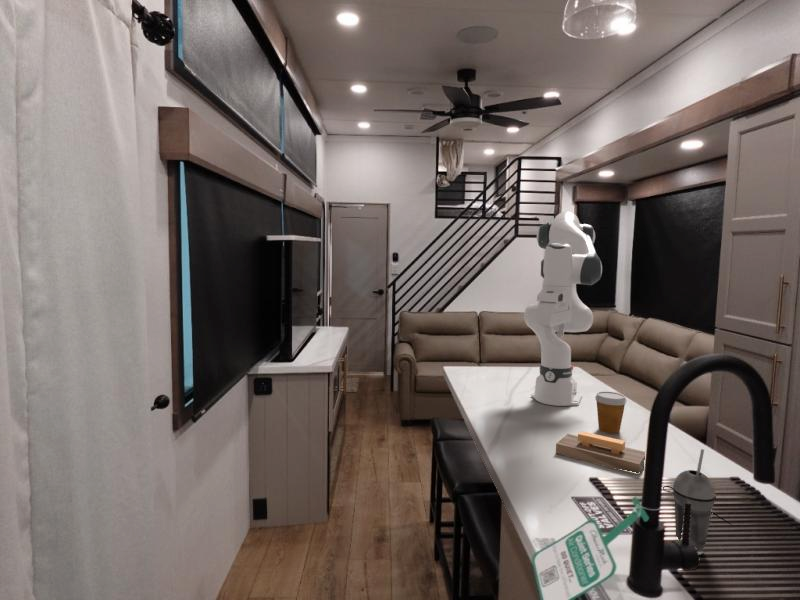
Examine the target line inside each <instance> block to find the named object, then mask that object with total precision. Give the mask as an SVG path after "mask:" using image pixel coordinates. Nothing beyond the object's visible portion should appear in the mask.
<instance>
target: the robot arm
mask: <svg viewBox="0 0 800 600" xmlns="http://www.w3.org/2000/svg"><path fill="white" fill-rule="evenodd" d="M595 240H596V232H595V230H594V226H592V225H591V224H587V223H583V224H582V223H581V222H580V220H579V218H578V216H577V215H576V214H575V213H573V212H571V211H562V212H560V213H558V214H557V215H556V216H555V217H554V219H553V220H552V221H551V222H546V223H543V224H542V225H540V226H539V228H538V230H537V233H536V241H537V245H538V246H539V247H540V249H544V251H545V252H544V257H543V259H542V260H541V261H540V276H541V277H542V278H543V281H542V288H541V290H540V292H539V293H537V296H536V302H535V303H529V304H528V305H527V307H526V308H525V310H524V314H523V321H524V323H525V324H526V326H527V327H528V328H529V329H531V330H532V331H533V333H534V334H535V336H536V337H537V338H538V341H539V344H540V354H541V355H540V356H541V357H540V358H541V360H540V361H541V362H540V365H539V375H538V376H537V377H536V378H535V386H534V393H531V394H530V396H531V398H532V399H535V401H536V402H539V403H541V404H544V405H548V406H556V407H557V406H558V407H564V406H565V407H566V406H579V405H580V403H581V401H582V398H583V394H582V393H579V392H577V391H578V390H577V388H578V387H577V386H578V385H577V382H576V380H575V379H574V378H573V370H574V365H572V362H571V361H572V349H571V346H570V345H569V344H568V343H567V342H566V341H565V340H563V339H561V337H564V335H565V332H566V333H581V332H587V331H588V330H589V329H590V328H591V327H592V325H593V322H594V314H593V312H592V310H591V309H590V307H588V306H587V305H586V304H585V303H583V301H582V300H581V299H580V298H579V295H578V292H577V285H586V286H593V285H595V284H596V283H597V282H598V281H600V280H601V278H602V273H603V265H602V261H601V258H600V257H599V255H598V254H597V252H596V251H597V250H596V248H595V246H594V243H595ZM559 337H560V338H559Z"/></svg>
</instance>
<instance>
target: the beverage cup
mask: <svg viewBox="0 0 800 600" xmlns="http://www.w3.org/2000/svg"><path fill="white" fill-rule="evenodd" d="M704 452H705V449H702V448H701V449H700V454H699V457H698V458H699V459H698V463H697V464H698V465H697V469H696V470H694V469H692V470H691V469H690V470H688V469H687V470H683V471H682V472H680V473H679V474H678V475H677V476H676V478H675V479H674V481H673V484H672V488H671V489H672V491H673V493H672V494H673V499H674V515H675V518H674V519H675V520H674V521H675V537H676V536H677V537H678V539H679V540H680V539H681V533H682V525H683V516H684V505H685V503H686V502H690V503H691V520H690V532H689V543H690V544H691V545H694V546H695V547H696V548H697V550H698V551H700V550H702V549H703V548H704V549H705V546H706V543H707V538H708V531H709V527H710V522H711V521H710V517H711V515H712V513H711V511H712V510H713V508H714V505H715V502H716V499H717V495H716V489H715V485H714V484H713V483H712V480H710V478H709V477H708V476H707V475H706V474H704V473H703V472H701V469H702V464H703V458H704Z"/></svg>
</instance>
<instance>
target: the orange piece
mask: <svg viewBox="0 0 800 600" xmlns="http://www.w3.org/2000/svg"><path fill="white" fill-rule="evenodd" d="M577 436H578V441H581V442H582V445H583V446H587V447H591V444H594V445H598V446H602V447H606V448H610V449H611V452H612V453H616V454H620V451H623V450H624V448H625V447H626V441H625V440H622V439H618V438H614V437H610V436H605V435H600V434H596V433H592V432H588V431H587V432H586V431H584V430H583V431H582V430H581V431H580V432H578V434H577Z"/></svg>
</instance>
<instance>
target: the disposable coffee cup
mask: <svg viewBox="0 0 800 600" xmlns="http://www.w3.org/2000/svg"><path fill="white" fill-rule="evenodd" d="M594 398H595V400H596V408H597V410H596V411H597V423H598V430H599V431H600V432H602V433H604V434H610V435H617V434H620V432H621V428H622V420H623V415H624V411H625V405H626V403H627V401H628V400H627V399H626V396H625V395H624V394H622V393H619V392H615V391H614V392H613V391H606V390H605V391H598V392H597V393H596V395H595V397H594Z"/></svg>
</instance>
